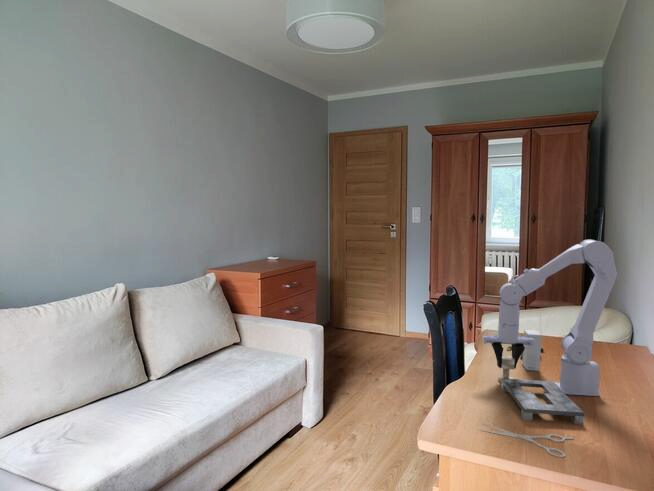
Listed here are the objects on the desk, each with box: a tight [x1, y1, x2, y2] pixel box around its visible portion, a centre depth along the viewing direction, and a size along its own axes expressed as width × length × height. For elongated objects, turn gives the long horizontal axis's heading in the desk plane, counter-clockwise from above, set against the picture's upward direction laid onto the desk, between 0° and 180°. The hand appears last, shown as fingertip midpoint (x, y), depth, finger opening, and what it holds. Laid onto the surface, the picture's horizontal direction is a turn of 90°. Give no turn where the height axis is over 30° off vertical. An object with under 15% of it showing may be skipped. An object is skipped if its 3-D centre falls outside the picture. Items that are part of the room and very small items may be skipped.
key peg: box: [497, 354, 515, 383], centre depth 135 cm, size 4×4×8 cm
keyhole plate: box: [500, 378, 585, 425], centre depth 119 cm, size 14×20×3 cm
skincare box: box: [521, 329, 542, 372], centre depth 147 cm, size 6×4×12 cm
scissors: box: [481, 422, 574, 458], centre depth 101 cm, size 11×1×20 cm
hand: (506, 367), depth 135 cm, fingers closed on key peg, 3 cm apart
